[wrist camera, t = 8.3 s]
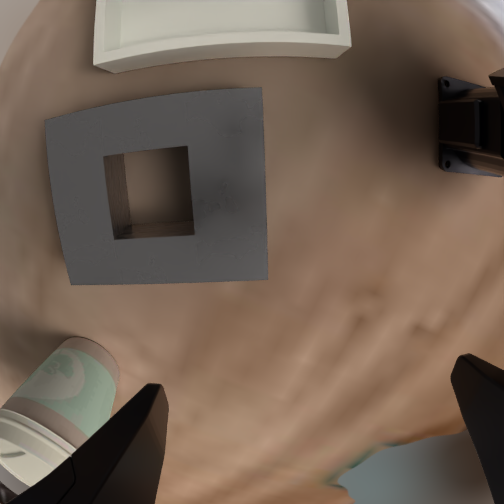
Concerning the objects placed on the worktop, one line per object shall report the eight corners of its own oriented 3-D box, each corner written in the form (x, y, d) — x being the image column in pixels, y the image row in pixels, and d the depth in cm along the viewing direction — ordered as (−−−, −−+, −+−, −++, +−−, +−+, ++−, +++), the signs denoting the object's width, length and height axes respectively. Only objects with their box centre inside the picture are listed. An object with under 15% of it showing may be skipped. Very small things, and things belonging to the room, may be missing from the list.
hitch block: (259, 94, 17) (261, 87, 14) (265, 258, 20) (268, 279, 17) (69, 120, 17) (44, 120, 14) (90, 266, 20) (70, 285, 17)
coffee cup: (123, 326, 22) (58, 455, 11) (144, 404, 25) (111, 518, 14) (35, 317, 22) (-43, 413, 11) (64, 391, 25) (16, 485, 14)
